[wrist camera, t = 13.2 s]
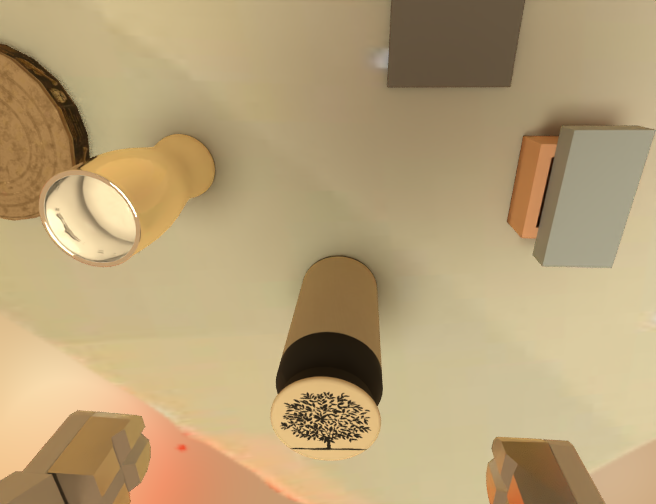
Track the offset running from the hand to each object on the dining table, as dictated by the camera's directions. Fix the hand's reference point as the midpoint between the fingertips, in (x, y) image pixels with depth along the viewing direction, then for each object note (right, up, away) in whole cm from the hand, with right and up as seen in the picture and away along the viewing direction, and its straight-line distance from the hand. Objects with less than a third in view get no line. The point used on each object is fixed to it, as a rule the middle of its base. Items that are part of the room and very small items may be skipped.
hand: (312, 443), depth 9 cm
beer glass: (-13, +13, +30) cm, 35 cm away
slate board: (+21, +9, +24) cm, 33 cm away
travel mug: (+2, +1, +34) cm, 34 cm away
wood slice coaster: (-30, +16, +30) cm, 46 cm away
